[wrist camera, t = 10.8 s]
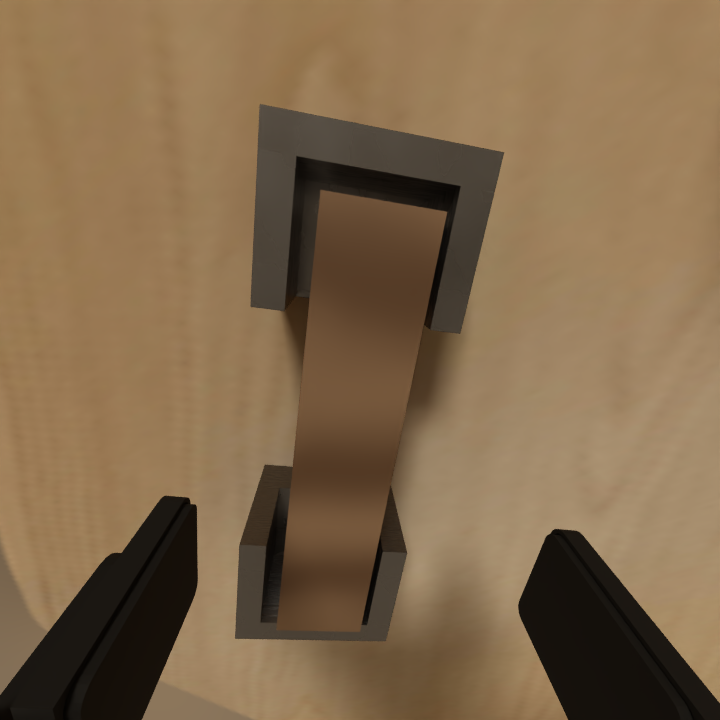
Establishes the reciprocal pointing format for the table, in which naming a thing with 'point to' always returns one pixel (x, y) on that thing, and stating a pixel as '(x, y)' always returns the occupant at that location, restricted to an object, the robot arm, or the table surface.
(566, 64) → the table surface
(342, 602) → the walnut rail
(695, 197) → the table surface
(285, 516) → the bracket
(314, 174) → the bracket
